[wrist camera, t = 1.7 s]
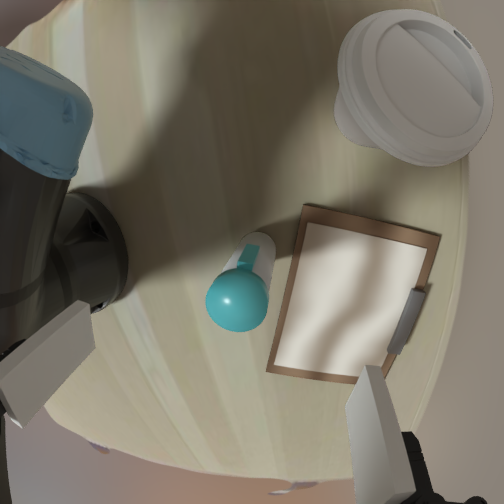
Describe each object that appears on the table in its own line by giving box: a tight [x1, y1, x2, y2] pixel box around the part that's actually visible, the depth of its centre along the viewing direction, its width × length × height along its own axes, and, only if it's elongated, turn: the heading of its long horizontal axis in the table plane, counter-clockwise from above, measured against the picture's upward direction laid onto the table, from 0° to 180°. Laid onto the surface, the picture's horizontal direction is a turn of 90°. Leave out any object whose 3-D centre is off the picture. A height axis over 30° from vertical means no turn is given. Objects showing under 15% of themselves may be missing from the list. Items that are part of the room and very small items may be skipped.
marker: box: [206, 232, 276, 332], centre depth 24 cm, size 4×4×13 cm
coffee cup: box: [334, 9, 493, 167], centre depth 17 cm, size 10×10×15 cm
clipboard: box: [266, 204, 440, 384], centre depth 30 cm, size 15×20×2 cm
